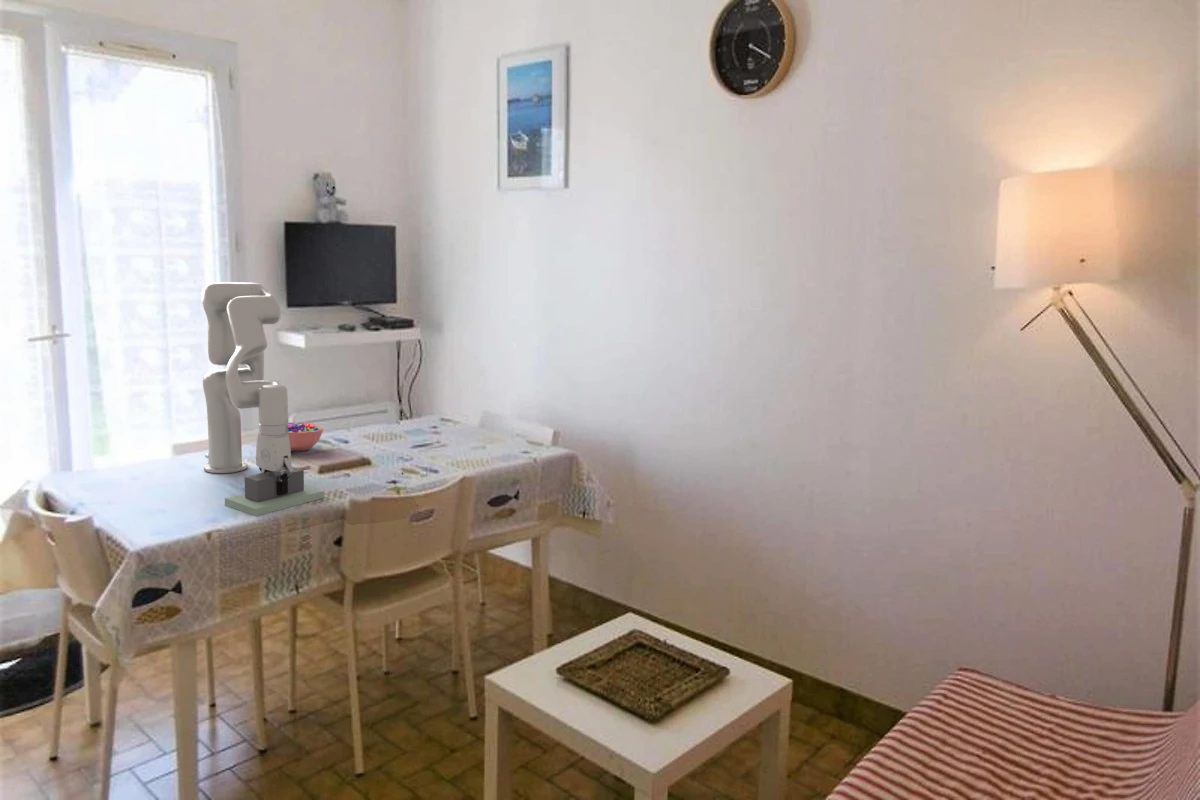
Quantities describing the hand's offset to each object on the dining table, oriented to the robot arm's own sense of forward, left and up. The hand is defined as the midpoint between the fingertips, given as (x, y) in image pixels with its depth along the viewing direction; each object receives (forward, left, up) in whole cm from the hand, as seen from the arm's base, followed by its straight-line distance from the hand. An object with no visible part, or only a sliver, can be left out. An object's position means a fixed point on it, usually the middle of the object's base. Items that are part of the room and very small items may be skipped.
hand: (275, 491), depth 239 cm
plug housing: (0, +2, -1) cm, 2 cm away
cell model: (-43, +38, -3) cm, 57 cm away
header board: (0, 0, -3) cm, 3 cm away
